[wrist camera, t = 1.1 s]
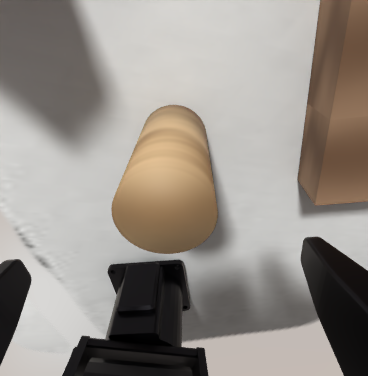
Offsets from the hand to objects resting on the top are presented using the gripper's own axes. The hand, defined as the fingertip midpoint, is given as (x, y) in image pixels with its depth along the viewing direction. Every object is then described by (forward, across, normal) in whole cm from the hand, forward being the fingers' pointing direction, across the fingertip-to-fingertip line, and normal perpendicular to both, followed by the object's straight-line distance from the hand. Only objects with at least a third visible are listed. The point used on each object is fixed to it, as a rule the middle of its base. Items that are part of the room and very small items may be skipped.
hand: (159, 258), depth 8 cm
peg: (+10, 0, 0) cm, 10 cm away
